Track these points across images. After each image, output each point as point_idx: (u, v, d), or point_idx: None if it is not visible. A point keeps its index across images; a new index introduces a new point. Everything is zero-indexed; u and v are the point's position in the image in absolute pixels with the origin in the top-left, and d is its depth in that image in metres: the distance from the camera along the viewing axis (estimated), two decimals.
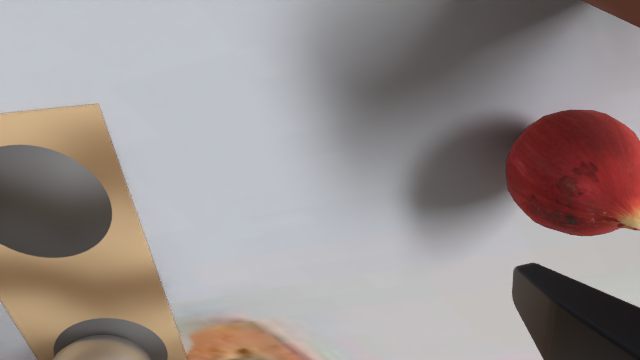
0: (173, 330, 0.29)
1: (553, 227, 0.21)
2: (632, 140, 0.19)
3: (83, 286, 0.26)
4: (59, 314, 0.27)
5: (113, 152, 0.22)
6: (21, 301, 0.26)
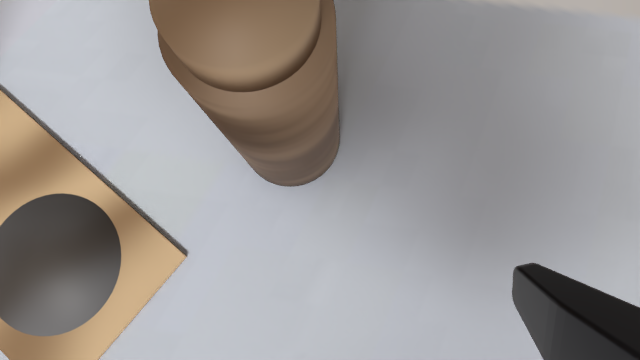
0: None
1: None
2: None
3: None
4: None
5: None
6: (18, 134, 0.24)
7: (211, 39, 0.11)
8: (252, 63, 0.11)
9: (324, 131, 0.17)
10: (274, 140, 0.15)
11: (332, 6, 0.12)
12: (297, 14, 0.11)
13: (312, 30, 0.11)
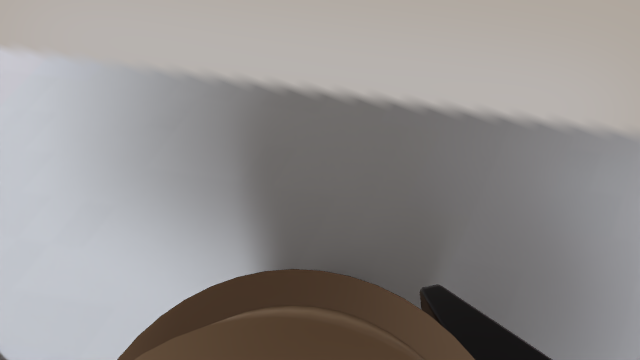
0: None
1: None
2: None
3: None
4: None
5: None
6: None
7: None
8: None
9: None
10: None
11: None
12: None
13: None
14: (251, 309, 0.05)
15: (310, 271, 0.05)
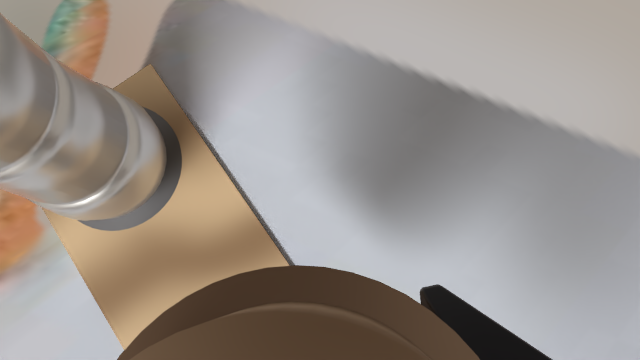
0: (62, 236, 0.23)
1: None
2: None
3: (173, 263, 0.23)
4: (187, 209, 0.23)
5: None
6: (227, 212, 0.23)
7: None
8: None
9: None
10: None
11: None
12: None
13: None
14: (253, 305, 0.05)
15: (312, 267, 0.05)
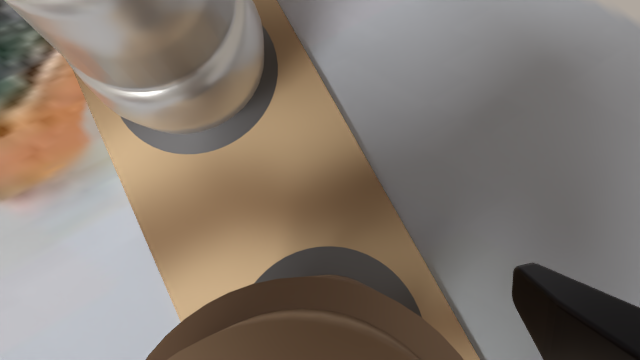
0: (112, 152, 0.18)
1: None
2: None
3: (252, 206, 0.17)
4: (278, 138, 0.18)
5: None
6: (330, 149, 0.18)
7: None
8: None
9: None
10: None
11: None
12: None
13: None
14: (265, 312, 0.06)
15: (317, 278, 0.06)
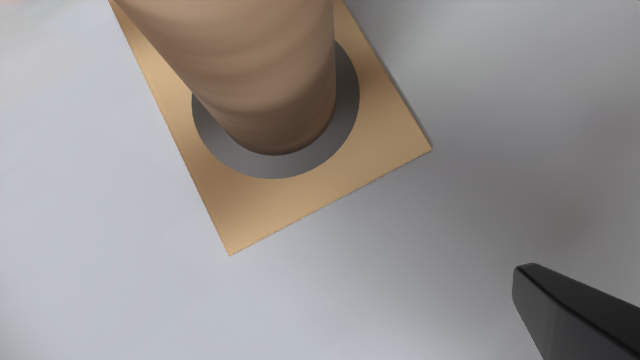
0: None
1: None
2: None
3: None
4: None
5: (203, 199, 0.18)
6: None
7: None
8: None
9: (314, 68, 0.12)
10: (241, 70, 0.10)
11: None
12: None
13: None
14: None
15: None
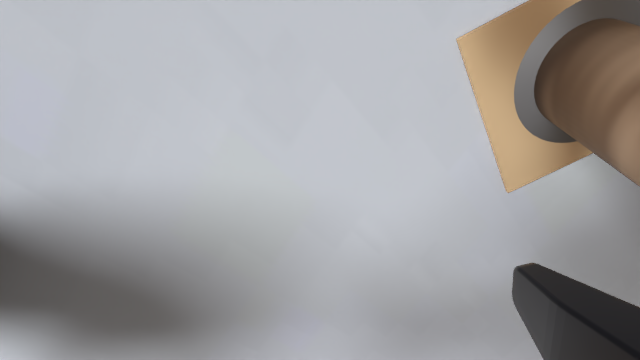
0: None
1: None
2: None
3: None
4: None
5: (513, 11, 0.18)
6: None
7: None
8: None
9: (632, 180, 0.16)
10: None
11: None
12: None
13: None
14: None
15: None
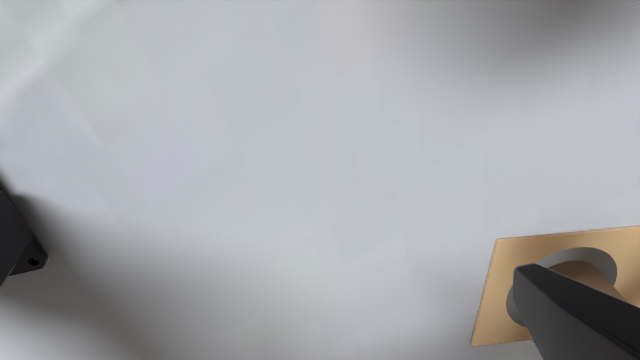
0: None
1: None
2: None
3: None
4: None
5: (539, 237, 0.25)
6: None
7: None
8: None
9: None
10: None
11: None
12: None
13: None
14: None
15: None
